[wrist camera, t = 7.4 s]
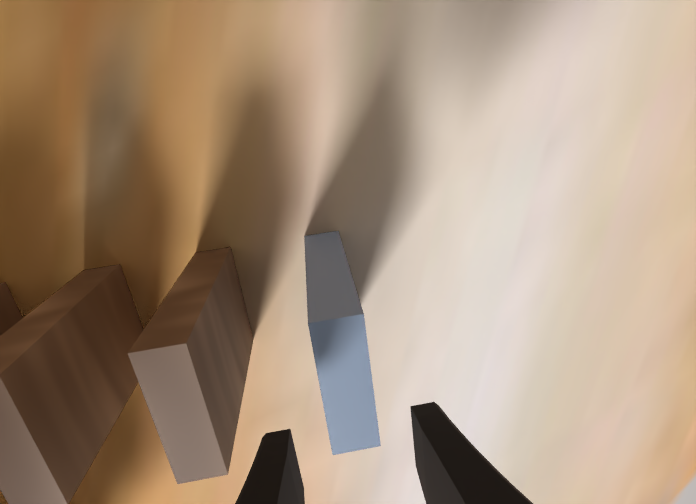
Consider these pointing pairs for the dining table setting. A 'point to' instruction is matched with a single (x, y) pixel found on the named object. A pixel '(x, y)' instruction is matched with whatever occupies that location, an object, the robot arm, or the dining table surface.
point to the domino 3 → (197, 366)
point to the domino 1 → (7, 309)
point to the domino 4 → (339, 345)
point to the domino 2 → (64, 385)
